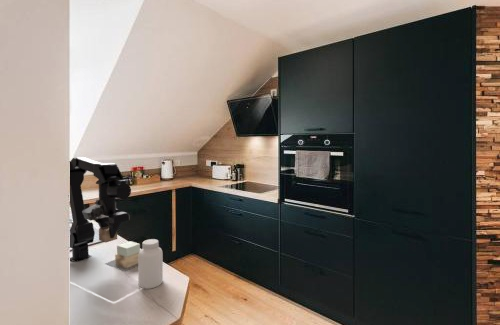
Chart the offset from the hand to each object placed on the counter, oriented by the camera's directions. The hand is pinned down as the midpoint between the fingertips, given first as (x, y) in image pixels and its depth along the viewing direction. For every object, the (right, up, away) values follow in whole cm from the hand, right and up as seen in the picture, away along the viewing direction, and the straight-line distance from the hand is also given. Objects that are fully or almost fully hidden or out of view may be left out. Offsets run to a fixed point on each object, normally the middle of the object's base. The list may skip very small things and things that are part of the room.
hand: (108, 236), depth 105 cm
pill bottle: (+19, -14, -9) cm, 26 cm away
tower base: (+5, -12, +6) cm, 15 cm away
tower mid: (+5, -8, +6) cm, 11 cm away
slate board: (+4, -13, +6) cm, 15 cm away
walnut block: (0, -1, 0) cm, 1 cm away
